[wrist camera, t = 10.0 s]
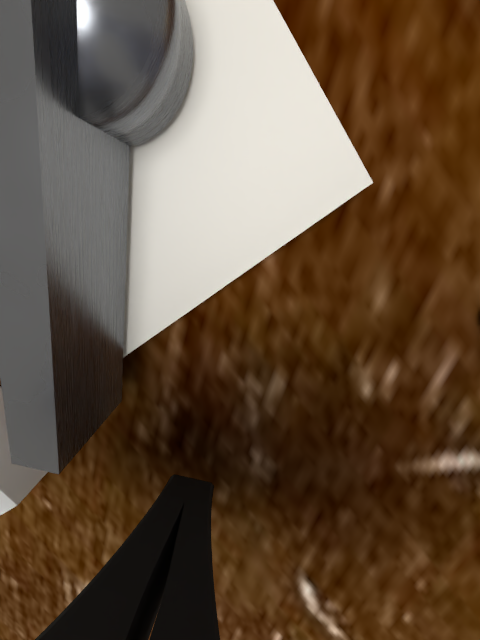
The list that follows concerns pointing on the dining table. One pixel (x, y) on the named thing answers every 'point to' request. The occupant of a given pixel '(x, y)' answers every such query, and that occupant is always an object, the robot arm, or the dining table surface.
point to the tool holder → (13, 471)
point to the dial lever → (73, 202)
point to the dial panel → (230, 166)
